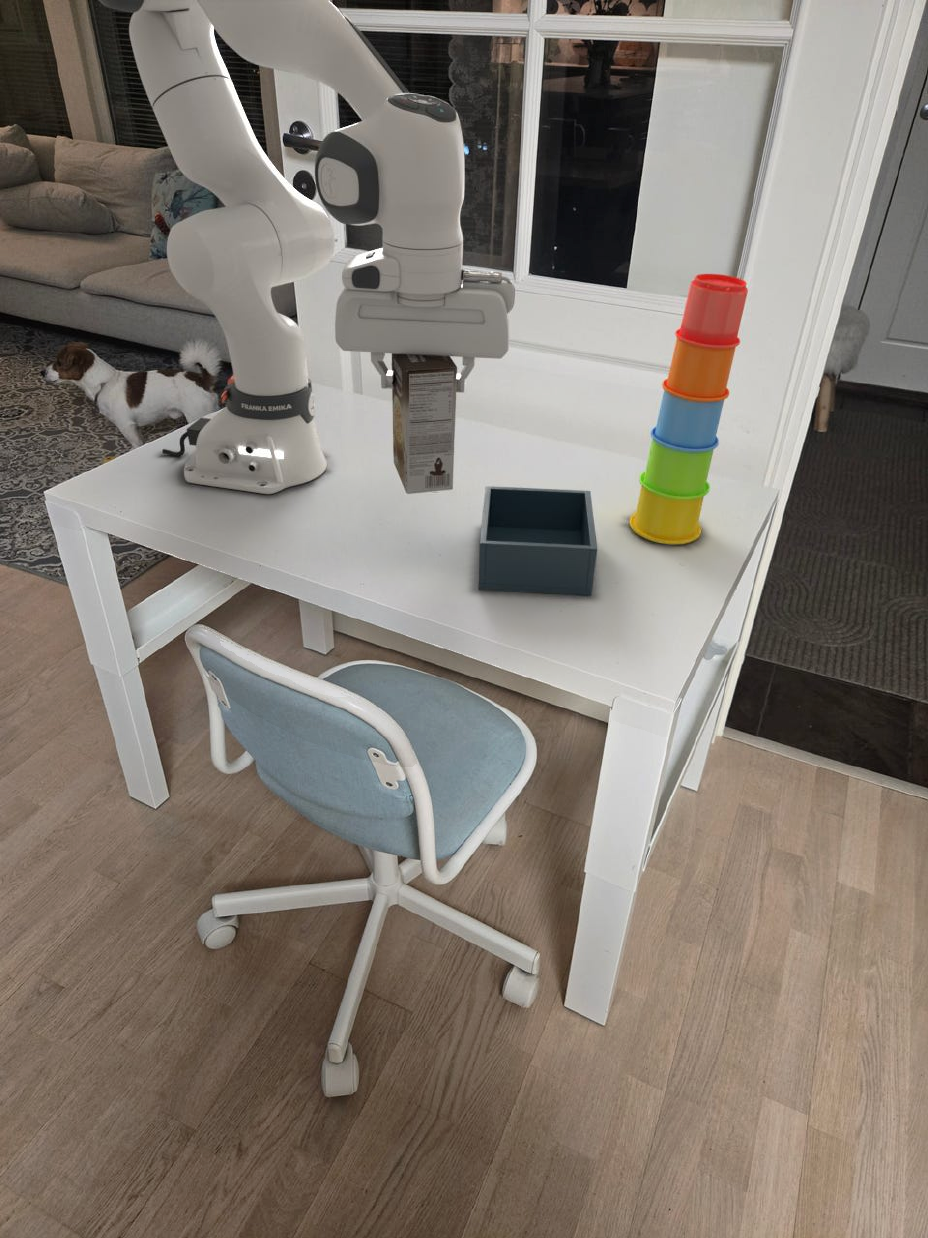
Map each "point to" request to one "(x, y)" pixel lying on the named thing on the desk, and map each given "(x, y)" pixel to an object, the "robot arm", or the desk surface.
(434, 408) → the coffee box
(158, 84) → the robot arm
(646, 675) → the desk surface
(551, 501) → the open square box
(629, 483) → the desk surface
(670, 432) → the stacking cups
